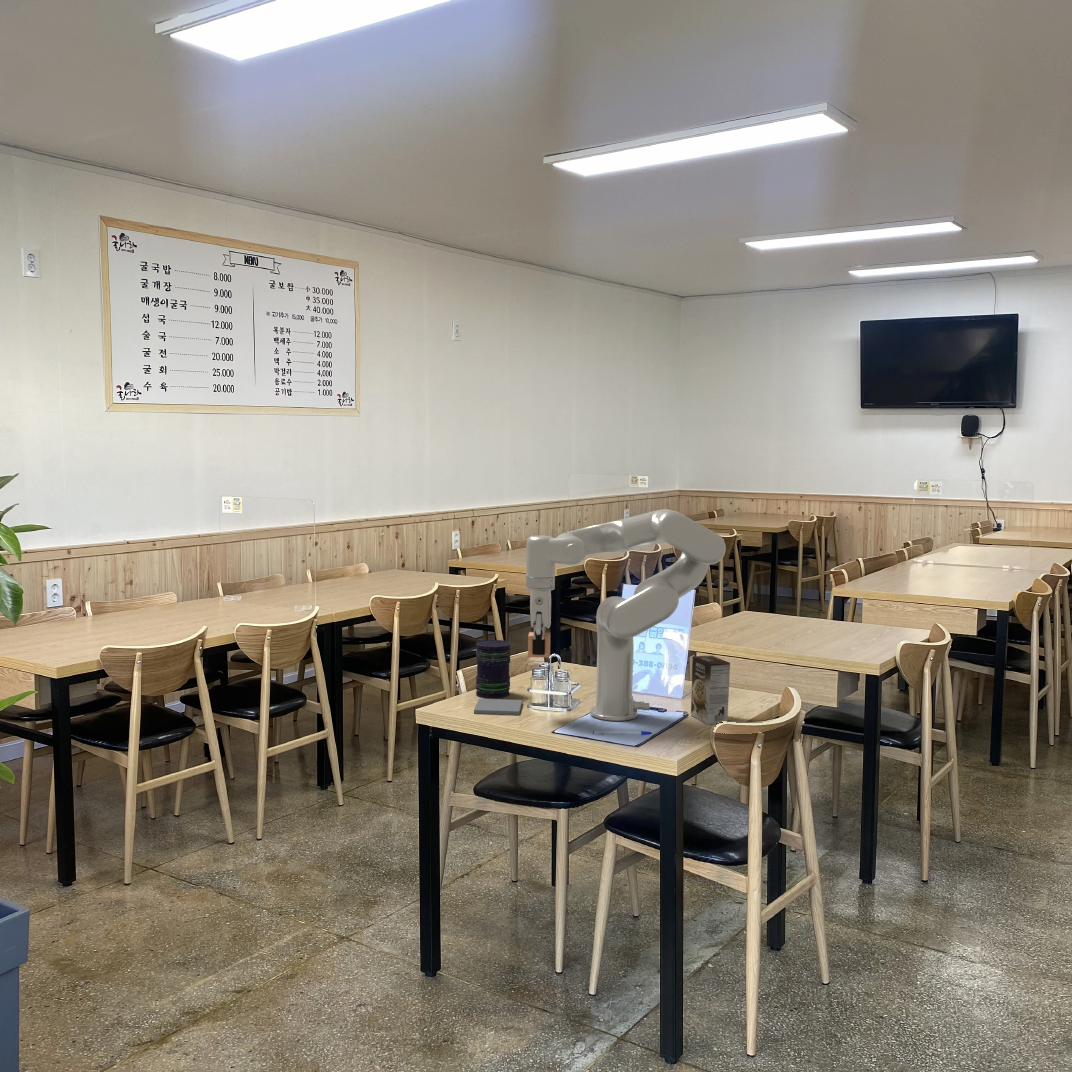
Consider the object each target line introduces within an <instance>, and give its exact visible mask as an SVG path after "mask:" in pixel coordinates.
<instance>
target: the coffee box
mask: <svg viewBox="0 0 1072 1072" xmlns="http://www.w3.org/2000/svg"><path fill="white" fill-rule="evenodd" d="M691 669H692V670H691V696H690V697H691V700H690V716H691V717H693V718H695V719H696V720H698V721H701V722H702V723H704V724H706V725H713V724H714V725H715V724H716V723H717V724H719V723H718V722H722V721H727V720H728V719H729V718H728V717H729V715H728V714H729V697H730V696H729V693H730V673H731V672H730V670H731V662H729V661H727V660H725V659H722V658H720V657H717V656H715V655H694V656H692V667H691ZM727 722H728V721H727Z"/></svg>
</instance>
